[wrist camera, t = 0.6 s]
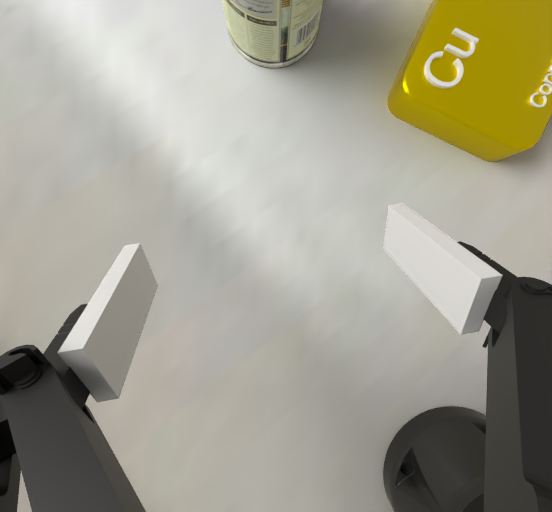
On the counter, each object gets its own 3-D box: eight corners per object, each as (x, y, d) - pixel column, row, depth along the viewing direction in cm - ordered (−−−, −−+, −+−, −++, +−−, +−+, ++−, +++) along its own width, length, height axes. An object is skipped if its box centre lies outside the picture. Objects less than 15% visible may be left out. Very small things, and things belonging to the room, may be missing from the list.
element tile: (498, 169, 32) (538, 155, 27) (379, 112, 32) (398, 87, 27) (556, 48, 32) (607, 12, 27) (437, -11, 31) (466, -58, 27)
